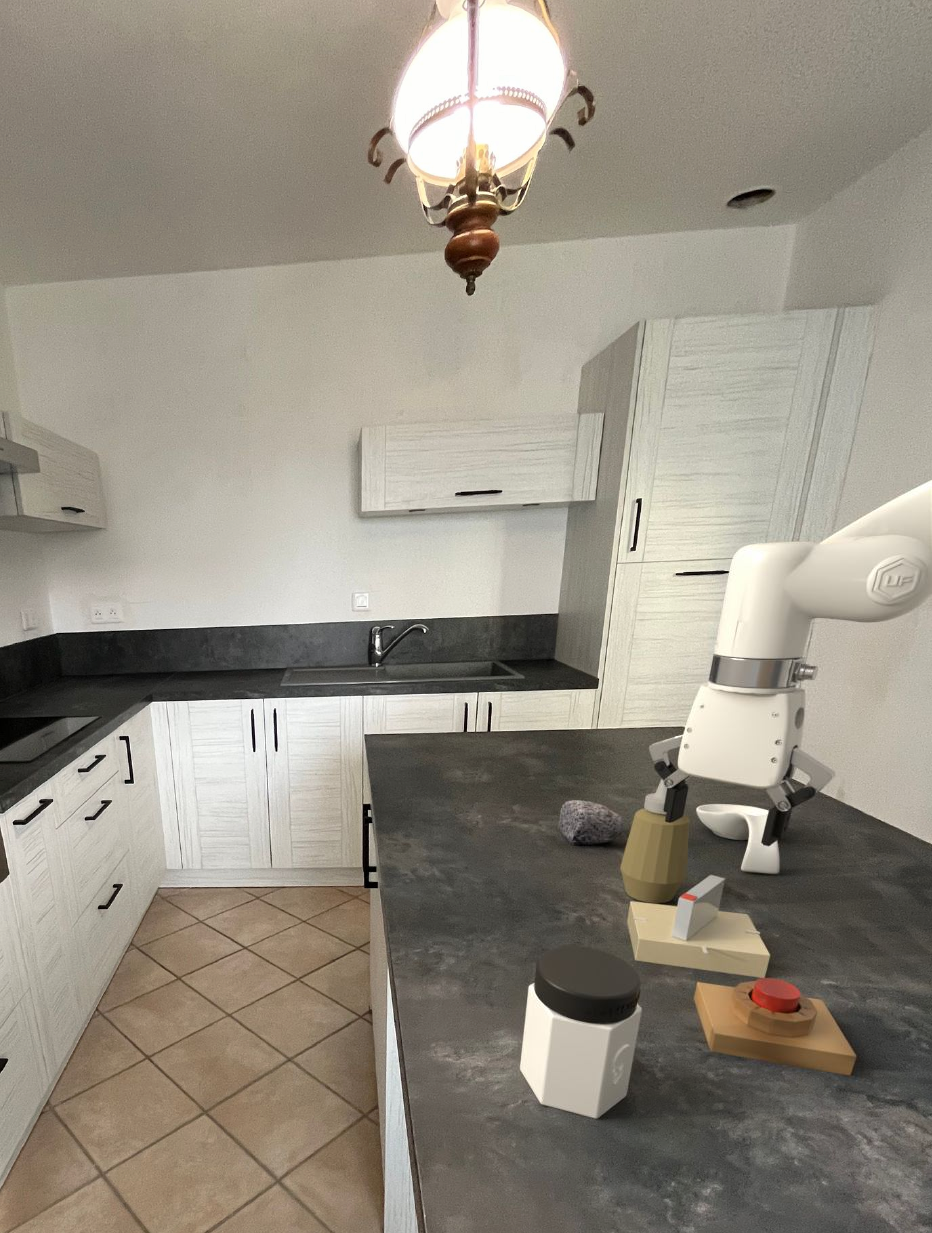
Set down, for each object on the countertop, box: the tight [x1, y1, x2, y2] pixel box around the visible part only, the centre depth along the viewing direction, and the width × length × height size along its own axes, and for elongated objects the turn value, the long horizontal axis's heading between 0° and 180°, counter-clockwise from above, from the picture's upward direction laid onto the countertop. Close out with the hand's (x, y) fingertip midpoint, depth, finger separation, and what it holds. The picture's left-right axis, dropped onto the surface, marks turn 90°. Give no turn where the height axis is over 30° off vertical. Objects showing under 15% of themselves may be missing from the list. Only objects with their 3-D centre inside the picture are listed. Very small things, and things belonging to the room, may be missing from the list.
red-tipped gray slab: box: [672, 874, 726, 941], centre depth 80 cm, size 9×2×5 cm, turn 129°
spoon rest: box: [695, 803, 781, 875], centre depth 109 cm, size 24×12×7 cm, turn 160°
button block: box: [693, 980, 857, 1076], centre depth 66 cm, size 11×9×4 cm
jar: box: [519, 945, 643, 1120], centre depth 60 cm, size 9×8×12 cm
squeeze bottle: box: [619, 778, 691, 904], centre depth 92 cm, size 8×8×18 cm
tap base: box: [626, 900, 771, 979], centre depth 82 cm, size 13×13×3 cm
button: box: [751, 977, 802, 1014], centre depth 65 cm, size 4×4×2 cm
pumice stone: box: [557, 799, 625, 846], centre depth 113 cm, size 10×8×10 cm
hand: (719, 830), depth 75 cm, fingers open, 9 cm apart
